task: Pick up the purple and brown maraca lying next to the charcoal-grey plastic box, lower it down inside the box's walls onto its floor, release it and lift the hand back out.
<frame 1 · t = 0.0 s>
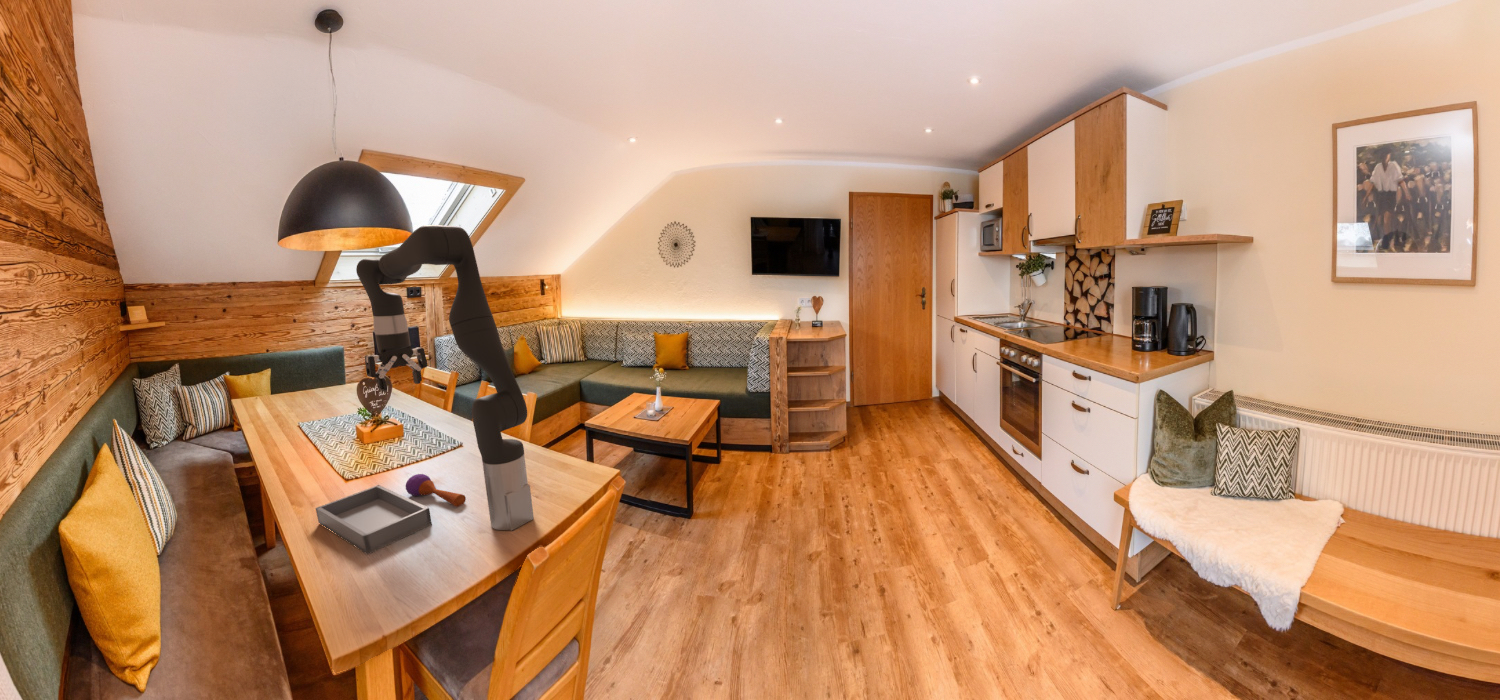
hand: (401, 387, 135), 29 cm above the table, tool pointing down, fingers open, 8 cm apart
box: (375, 524, 118), on the table
purple and brown maraca: (436, 499, 131), on the table
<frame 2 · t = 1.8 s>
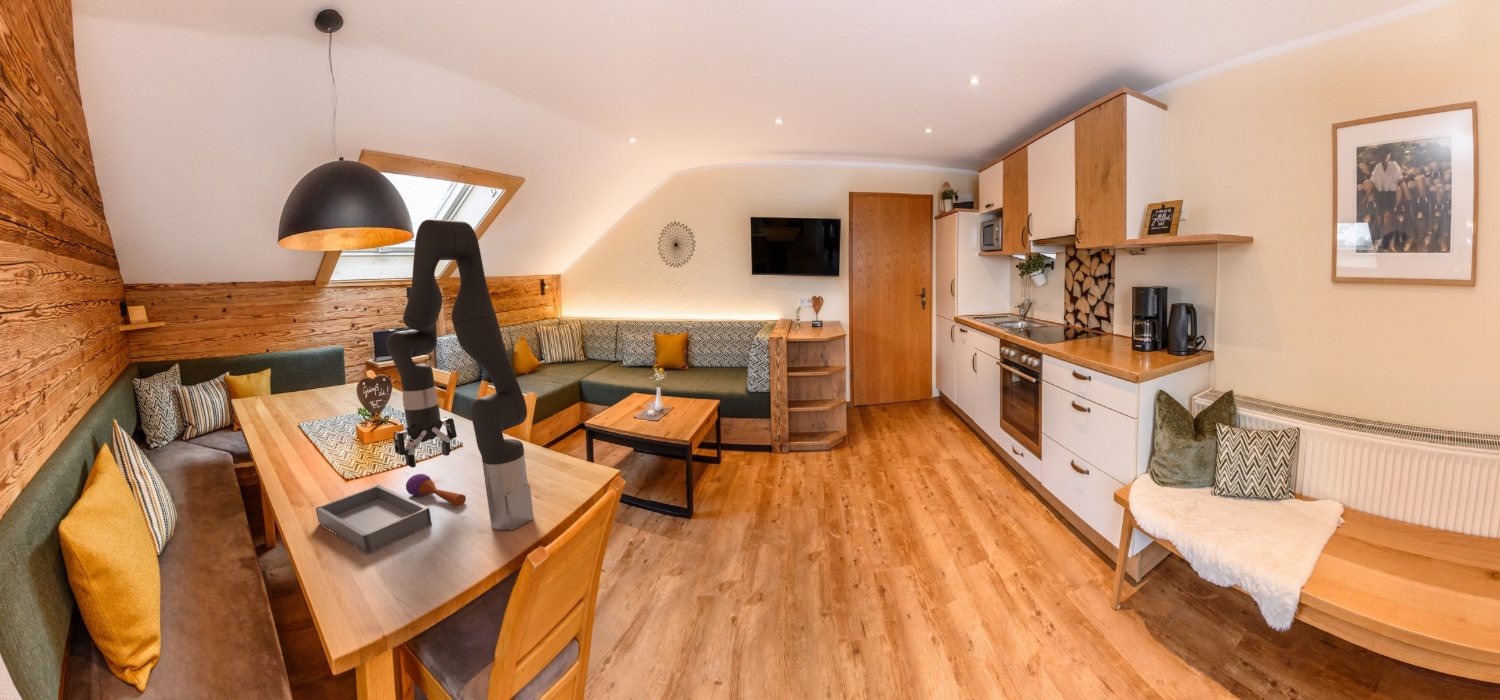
hand: (429, 460, 129), 11 cm above the table, tool pointing down, fingers open, 8 cm apart
nothing on the table moved.
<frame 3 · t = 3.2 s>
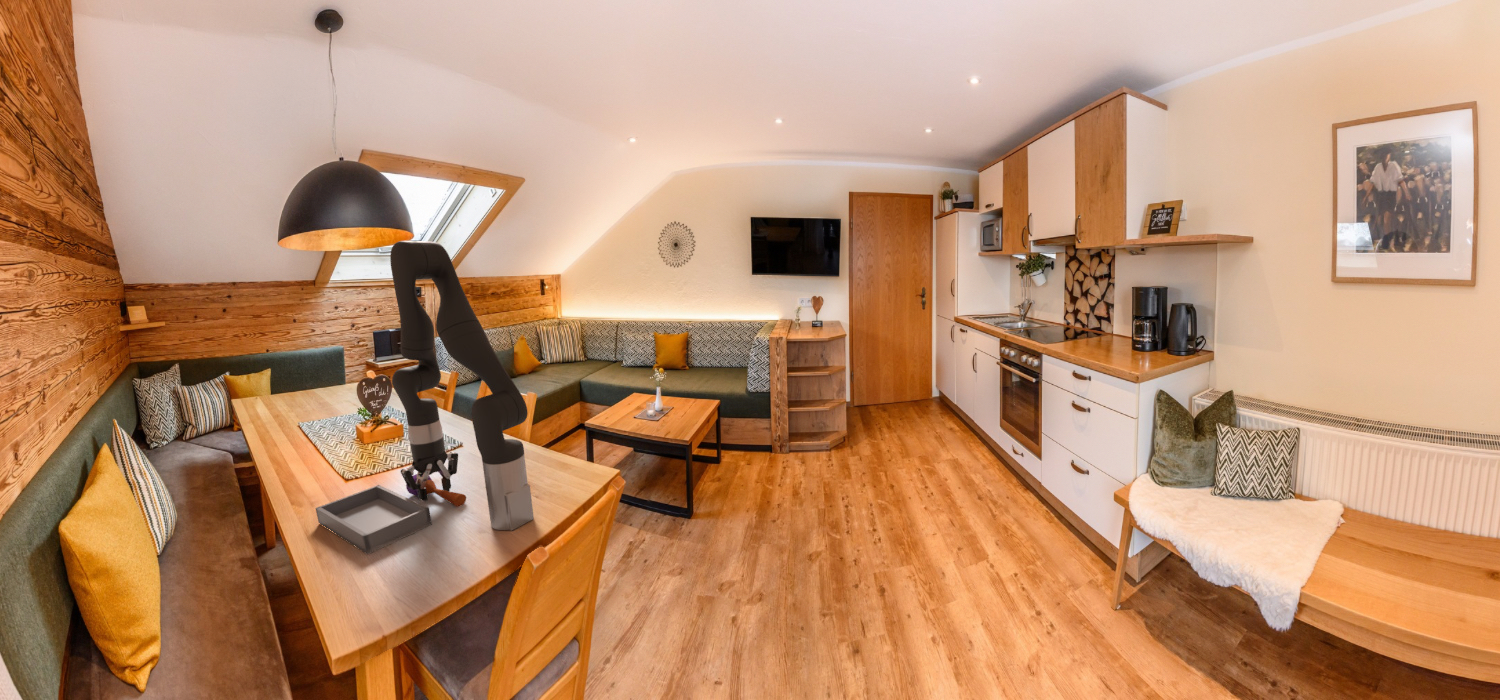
hand: (435, 495, 130), 1 cm above the table, tool pointing down, fingers closed on purple and brown maraca, 5 cm apart
purple and brown maraca: (437, 499, 131), on the table, touching gripper
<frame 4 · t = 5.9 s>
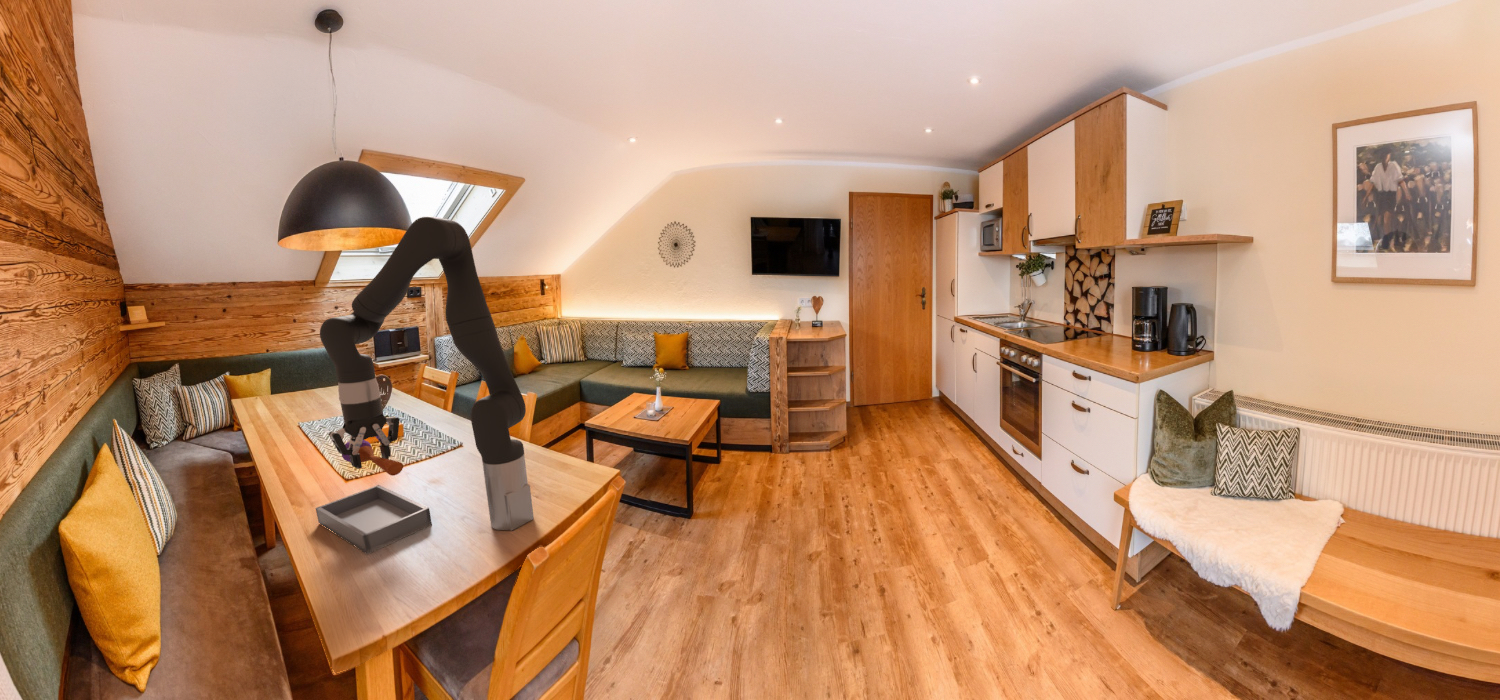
hand: (372, 463, 117), 16 cm above the table, tool pointing down, fingers closed on purple and brown maraca, 5 cm apart
purple and brown maraca: (374, 467, 117), point 14 cm above the table, touching gripper
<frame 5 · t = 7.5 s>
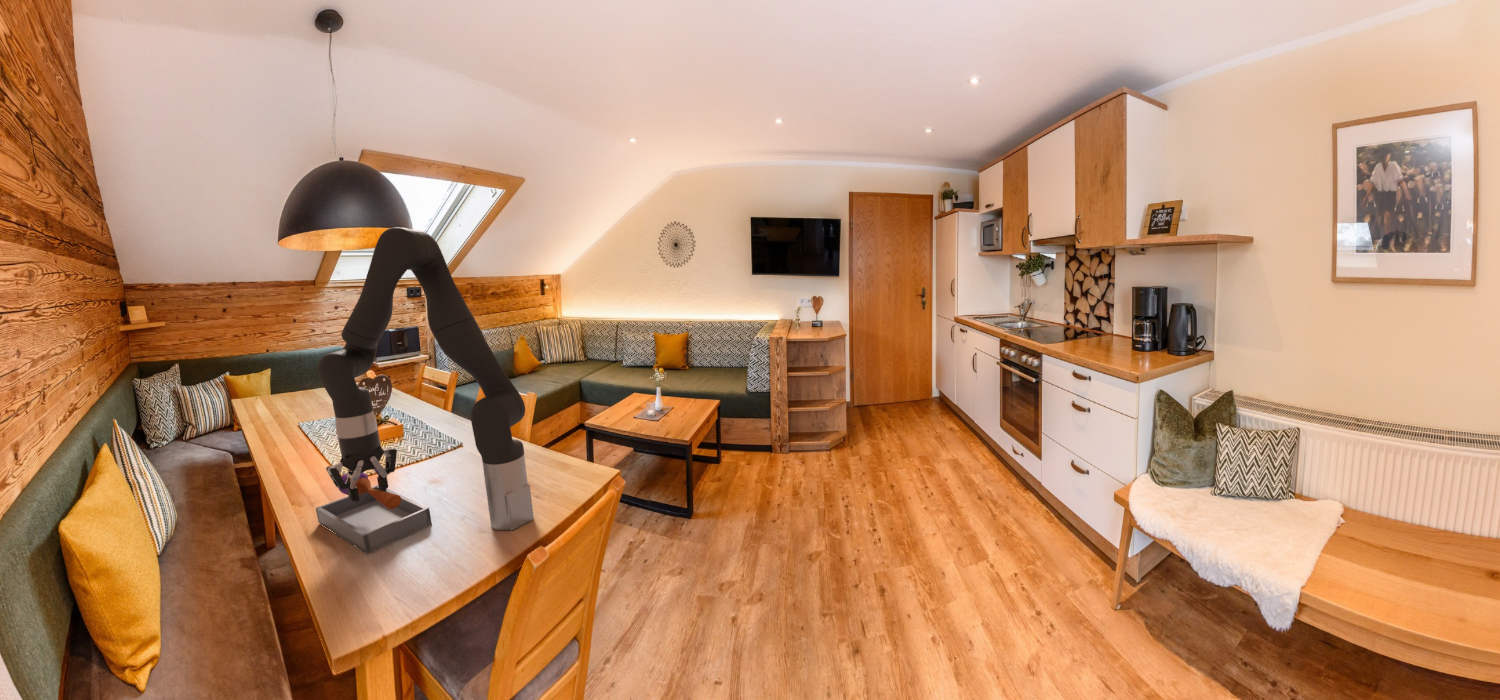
hand: (369, 495, 117), 8 cm above the table, tool pointing down, fingers closed on purple and brown maraca, 5 cm apart
purple and brown maraca: (371, 500, 117), point 7 cm above the table, touching gripper
when the fingers open (4 cm above the table, at t = 8.7 s): purple and brown maraca drops 2 cm, resting on box.
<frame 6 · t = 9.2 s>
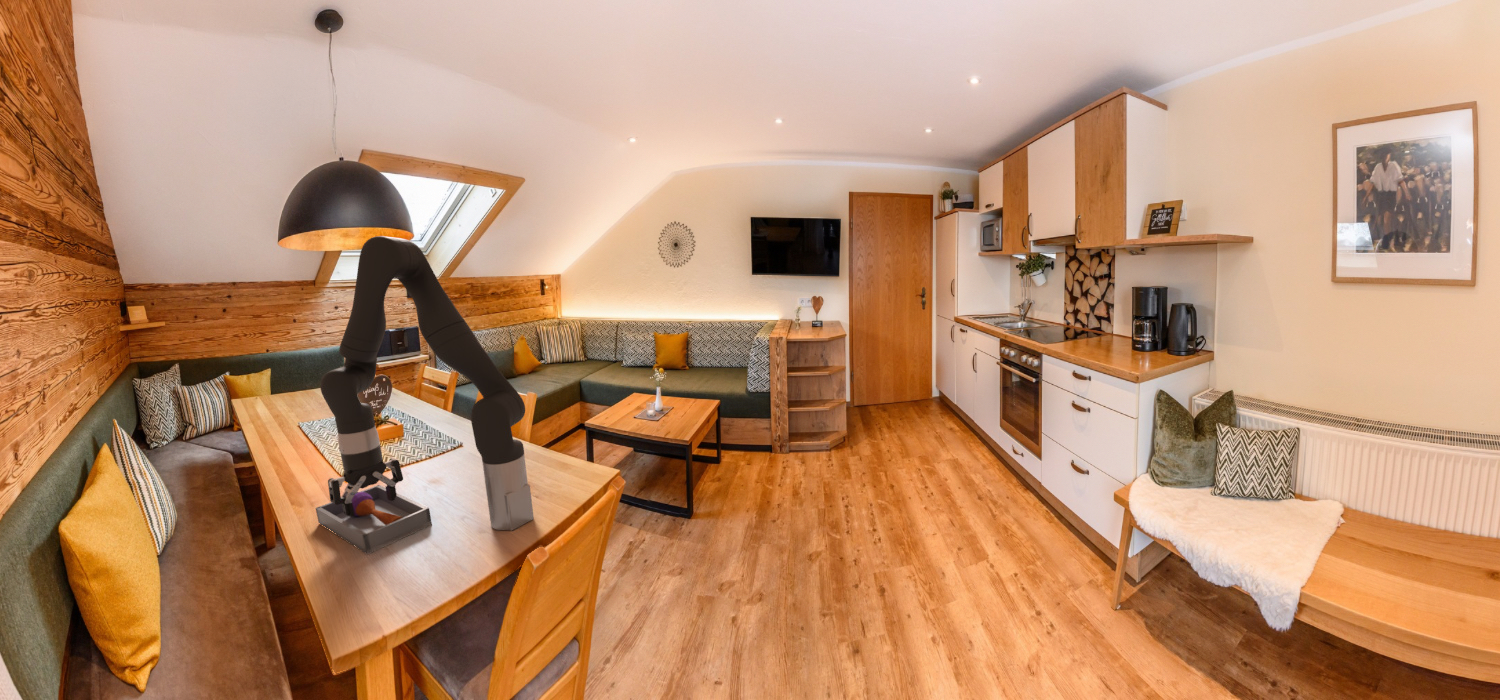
hand: (372, 507, 117), 5 cm above the table, tool pointing down, fingers open, 8 cm apart
purple and brown maraca: (375, 521, 118), point 1 cm above the table, touching box
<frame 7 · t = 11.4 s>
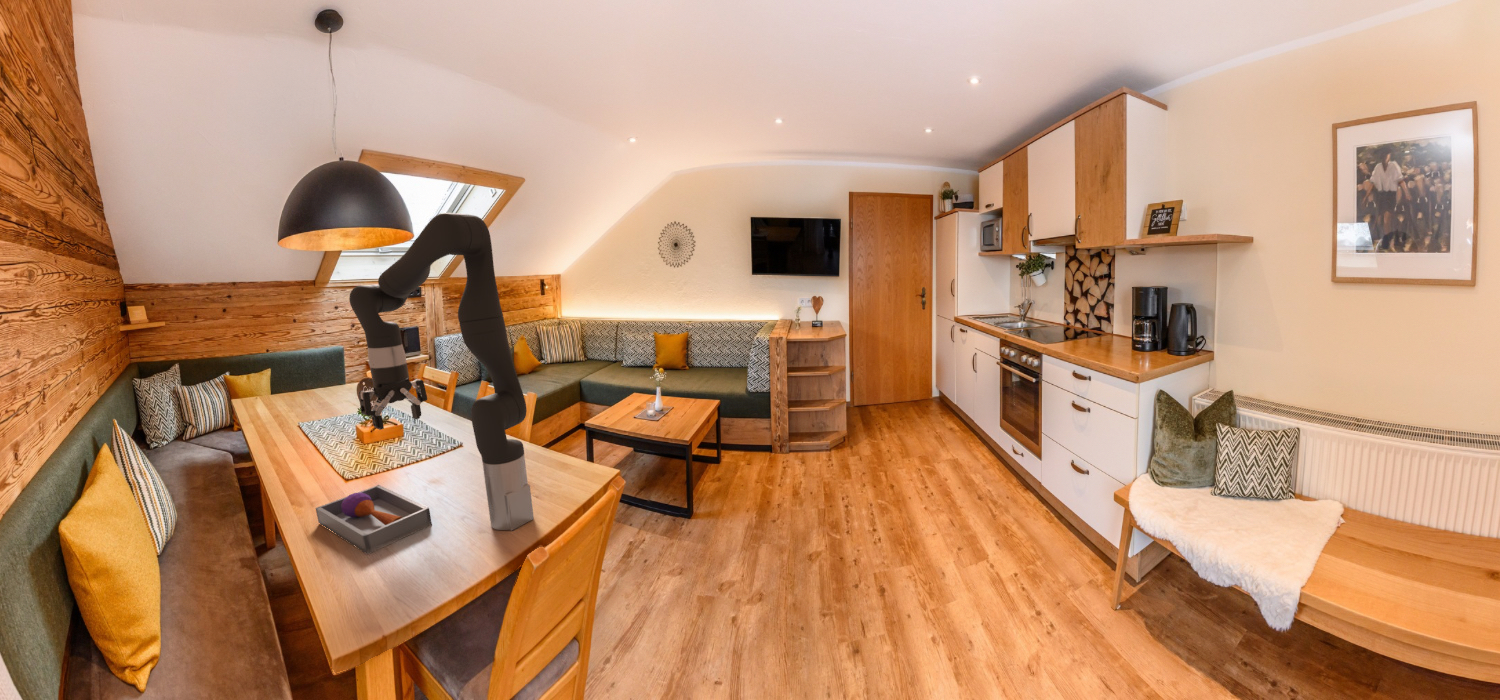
hand: (399, 423, 123), 23 cm above the table, tool pointing down, fingers open, 8 cm apart
nothing on the table moved.
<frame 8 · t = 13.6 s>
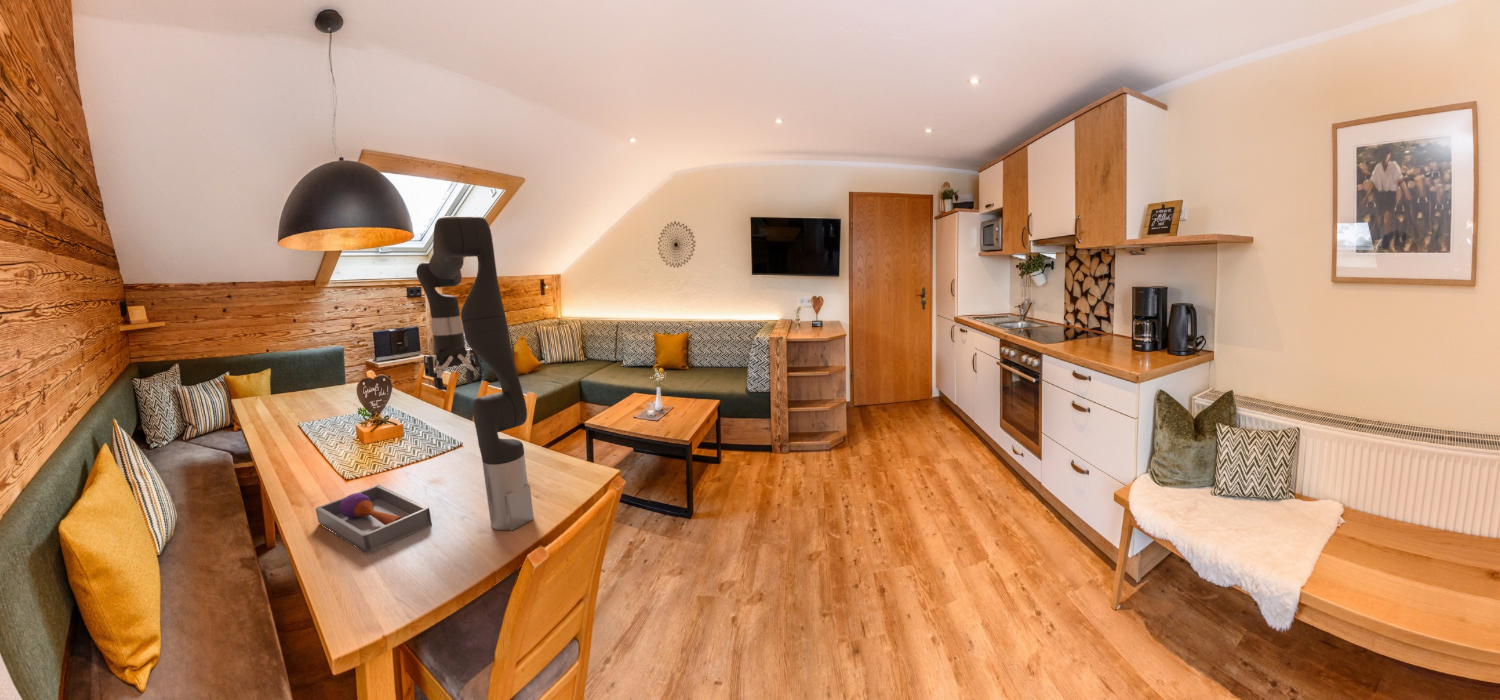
hand: (455, 386, 139), 28 cm above the table, tool pointing down, fingers open, 8 cm apart
nothing on the table moved.
at the end: purple and brown maraca inside the target area on the box (0.4 cm from its centre), point 0.8 cm above the box's base; the gripper is holding nothing; purple and brown maraca moved 14.8 cm from its start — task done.
